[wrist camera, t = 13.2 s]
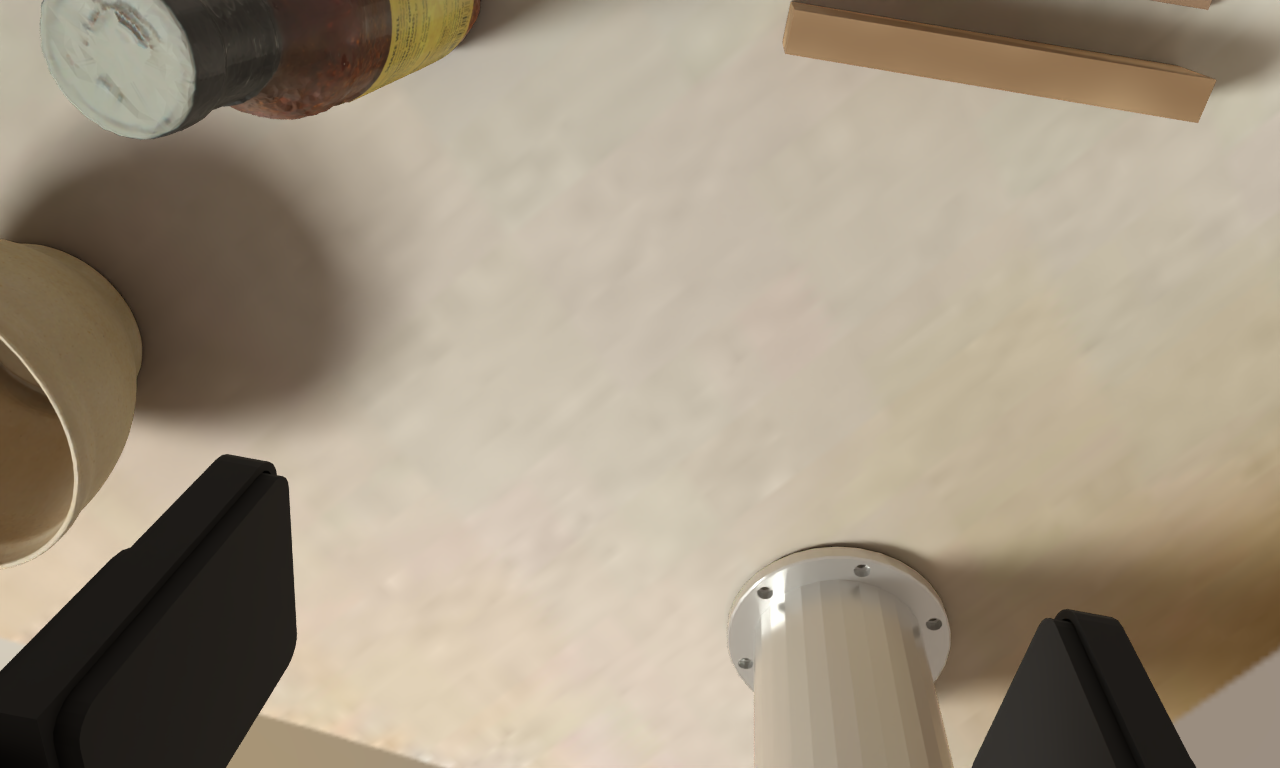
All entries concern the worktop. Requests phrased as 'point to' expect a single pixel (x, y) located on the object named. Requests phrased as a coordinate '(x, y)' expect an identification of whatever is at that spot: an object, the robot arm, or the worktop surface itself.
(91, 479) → the planter bowl
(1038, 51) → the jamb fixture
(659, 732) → the worktop surface
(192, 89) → the sauce bottle
